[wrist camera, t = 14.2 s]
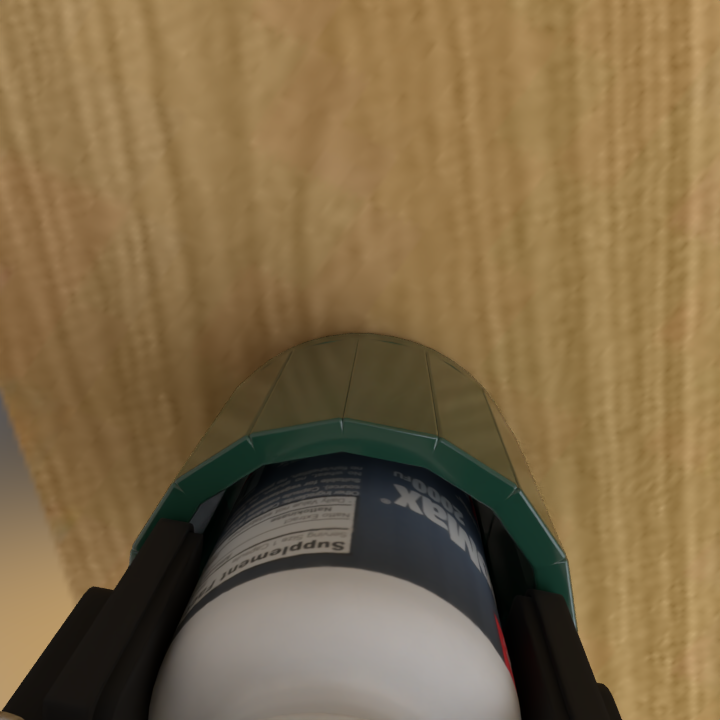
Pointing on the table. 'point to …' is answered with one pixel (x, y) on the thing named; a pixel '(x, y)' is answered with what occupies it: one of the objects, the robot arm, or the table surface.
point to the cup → (377, 447)
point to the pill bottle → (341, 604)
